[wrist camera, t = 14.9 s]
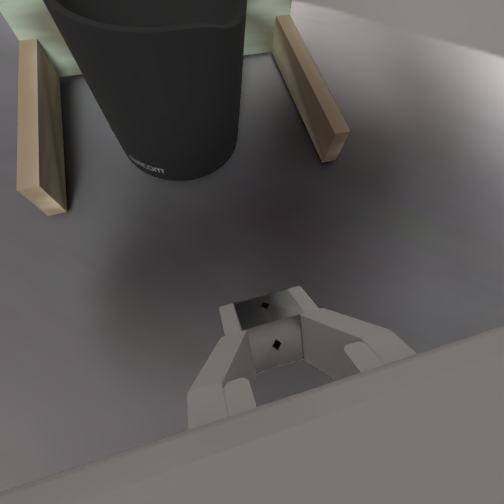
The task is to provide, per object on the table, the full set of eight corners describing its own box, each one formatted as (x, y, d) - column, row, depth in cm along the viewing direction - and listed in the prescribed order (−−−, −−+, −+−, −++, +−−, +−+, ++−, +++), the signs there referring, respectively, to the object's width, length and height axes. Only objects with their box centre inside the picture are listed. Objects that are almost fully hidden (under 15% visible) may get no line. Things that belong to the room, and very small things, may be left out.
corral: (279, 42, 27) (291, -39, 22) (335, 160, 22) (370, 92, 17) (43, 69, 24) (-13, -21, 18) (48, 215, 19) (-28, 153, 13)
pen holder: (103, 118, 22) (15, -59, 13) (210, 86, 25) (197, -83, 16) (145, 207, 19) (67, 55, 10) (262, 161, 22) (285, 4, 13)
